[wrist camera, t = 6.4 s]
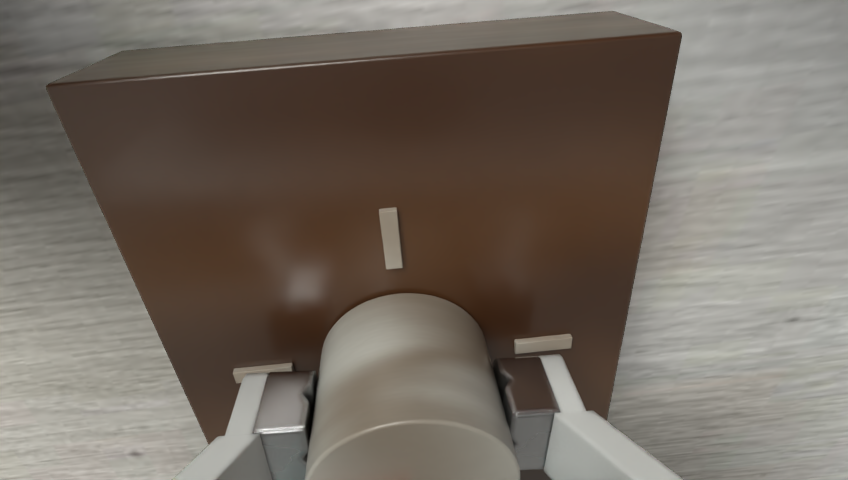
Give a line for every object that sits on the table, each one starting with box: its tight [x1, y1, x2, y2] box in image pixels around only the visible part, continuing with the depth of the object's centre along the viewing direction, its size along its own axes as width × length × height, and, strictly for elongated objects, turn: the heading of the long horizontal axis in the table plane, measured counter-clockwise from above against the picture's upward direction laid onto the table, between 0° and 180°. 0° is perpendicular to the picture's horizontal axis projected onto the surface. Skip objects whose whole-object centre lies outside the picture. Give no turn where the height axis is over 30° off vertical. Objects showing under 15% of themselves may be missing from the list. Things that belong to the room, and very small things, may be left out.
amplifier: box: [46, 11, 682, 480], centre depth 13 cm, size 14×11×3 cm
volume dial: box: [304, 293, 520, 480], centre depth 10 cm, size 4×4×4 cm
